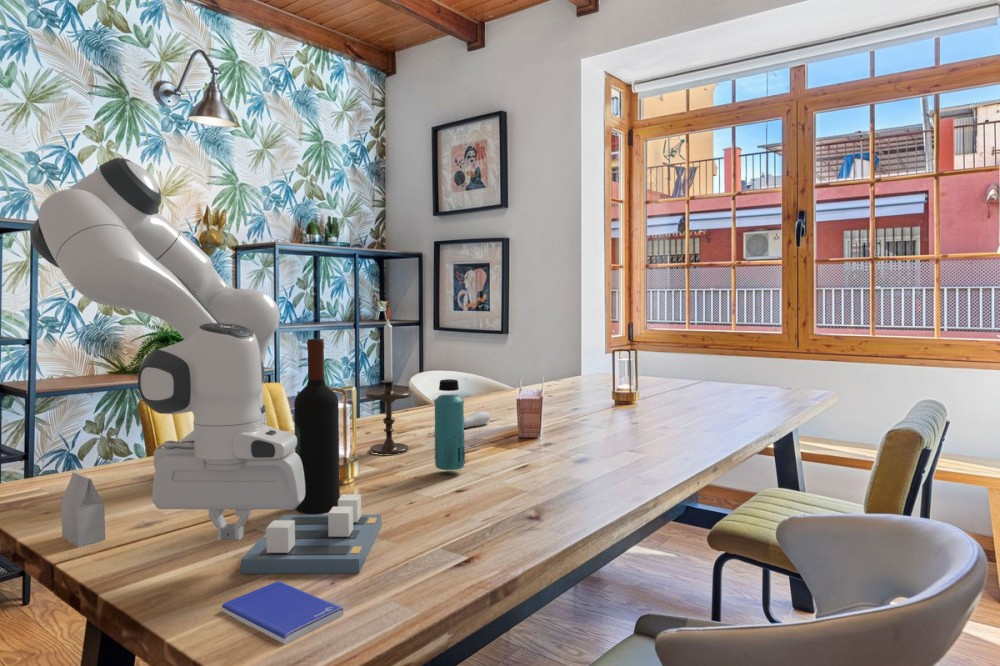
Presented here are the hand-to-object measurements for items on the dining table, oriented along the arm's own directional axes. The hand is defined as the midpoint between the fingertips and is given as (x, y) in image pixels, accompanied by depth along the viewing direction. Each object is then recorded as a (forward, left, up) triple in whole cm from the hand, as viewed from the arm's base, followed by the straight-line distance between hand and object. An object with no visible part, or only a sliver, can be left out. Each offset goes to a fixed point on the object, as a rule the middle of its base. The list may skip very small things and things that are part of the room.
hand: (230, 538), depth 92 cm
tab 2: (+14, +12, -1) cm, 19 cm away
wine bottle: (+5, +25, -4) cm, 26 cm away
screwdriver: (+27, +92, -4) cm, 96 cm away
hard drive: (+12, -14, -5) cm, 19 cm away
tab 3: (+14, +6, -2) cm, 15 cm away
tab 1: (+7, 0, -1) cm, 7 cm away
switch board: (+10, +6, -4) cm, 13 cm away
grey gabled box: (-27, +10, -4) cm, 29 cm away
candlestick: (+11, +67, -4) cm, 68 cm away
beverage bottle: (+27, +47, -4) cm, 55 cm away
